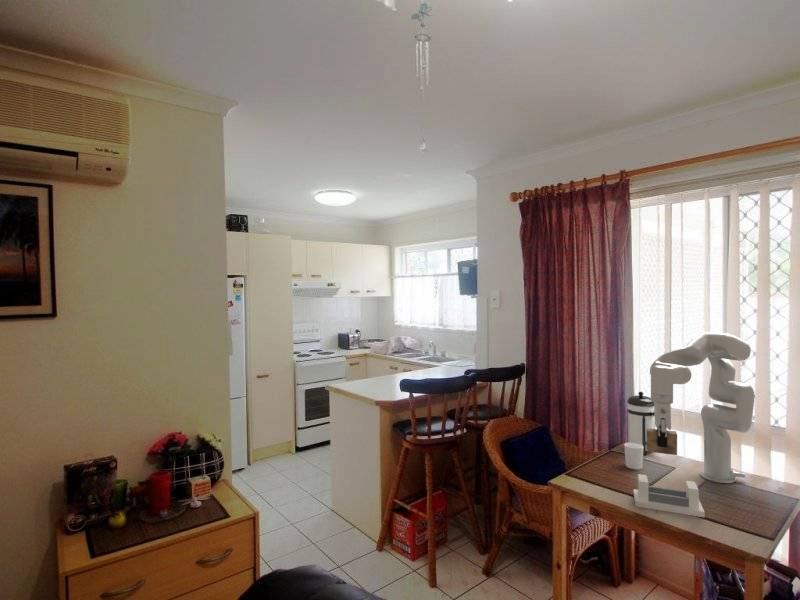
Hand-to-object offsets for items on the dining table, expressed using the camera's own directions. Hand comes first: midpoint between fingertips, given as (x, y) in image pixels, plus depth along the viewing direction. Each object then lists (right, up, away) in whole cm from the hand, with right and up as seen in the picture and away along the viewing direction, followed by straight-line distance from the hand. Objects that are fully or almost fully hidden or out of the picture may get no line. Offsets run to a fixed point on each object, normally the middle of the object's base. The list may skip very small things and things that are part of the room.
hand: (661, 444), depth 173 cm
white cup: (+6, -21, +33) cm, 39 cm away
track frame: (0, -22, -4) cm, 22 cm away
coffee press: (+22, -20, +52) cm, 60 cm away
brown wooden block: (0, -3, 0) cm, 3 cm away
